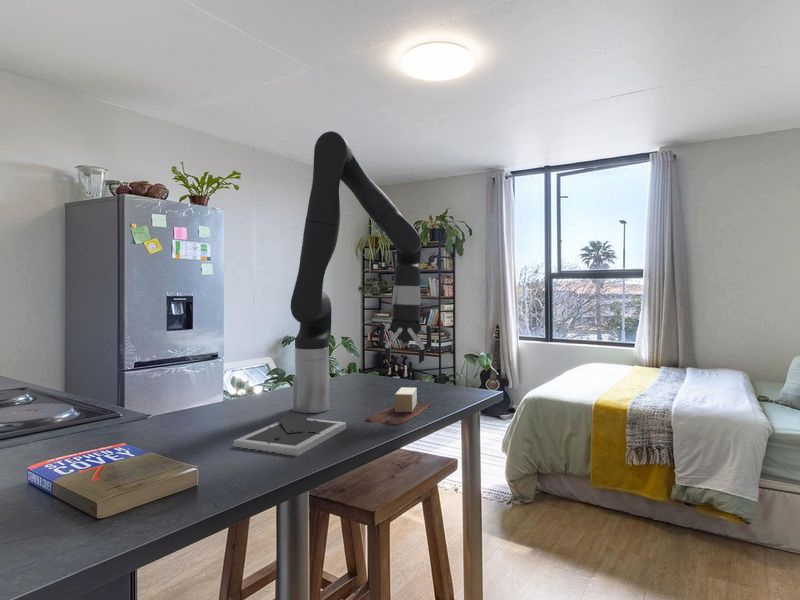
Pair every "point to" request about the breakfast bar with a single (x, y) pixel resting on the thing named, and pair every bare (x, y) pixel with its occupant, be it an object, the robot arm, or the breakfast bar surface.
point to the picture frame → (291, 435)
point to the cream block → (405, 399)
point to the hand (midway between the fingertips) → (404, 362)
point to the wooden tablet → (396, 415)
